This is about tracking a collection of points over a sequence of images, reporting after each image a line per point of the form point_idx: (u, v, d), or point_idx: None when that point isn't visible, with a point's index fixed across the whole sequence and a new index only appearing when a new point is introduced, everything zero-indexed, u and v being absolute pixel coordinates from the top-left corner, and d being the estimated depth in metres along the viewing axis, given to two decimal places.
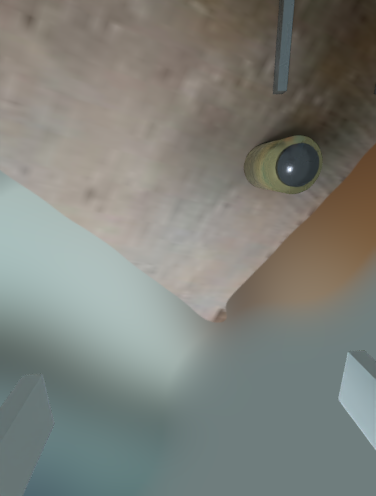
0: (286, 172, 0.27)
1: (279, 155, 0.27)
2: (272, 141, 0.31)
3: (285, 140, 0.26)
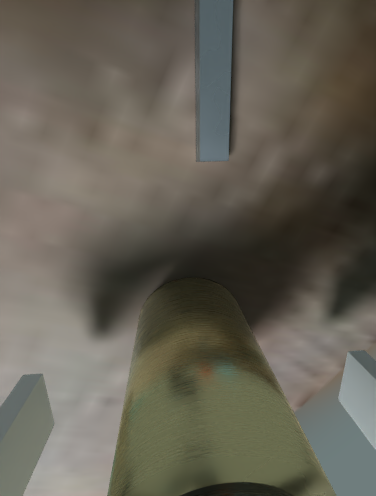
0: None
1: None
2: (179, 324, 0.10)
3: (164, 479, 0.05)
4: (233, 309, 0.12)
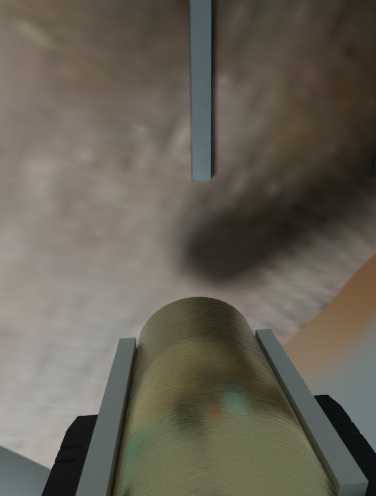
0: None
1: None
2: (184, 361, 0.08)
3: None
4: (247, 337, 0.10)
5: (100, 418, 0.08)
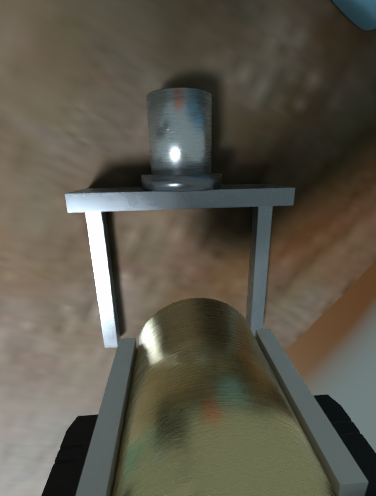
0: None
1: None
2: (185, 362, 0.08)
3: None
4: (247, 338, 0.10)
5: (100, 418, 0.08)
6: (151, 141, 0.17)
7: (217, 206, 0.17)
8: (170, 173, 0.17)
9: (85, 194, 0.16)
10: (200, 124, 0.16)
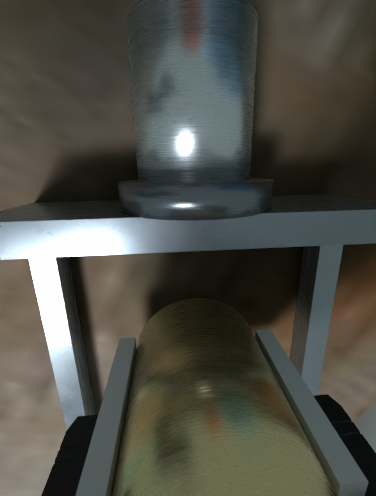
0: None
1: None
2: (185, 363, 0.08)
3: None
4: (247, 338, 0.10)
5: (100, 418, 0.08)
6: (136, 116, 0.09)
7: (268, 245, 0.09)
8: (175, 180, 0.08)
9: None
10: (238, 77, 0.08)
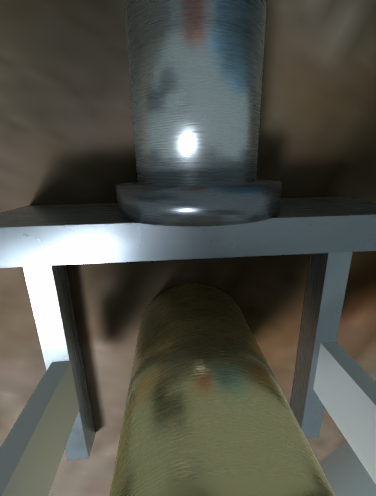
0: None
1: None
2: (180, 332, 0.10)
3: None
4: (236, 316, 0.12)
5: None
6: (135, 113, 0.08)
7: (276, 252, 0.08)
8: (176, 182, 0.08)
9: None
10: (245, 71, 0.07)
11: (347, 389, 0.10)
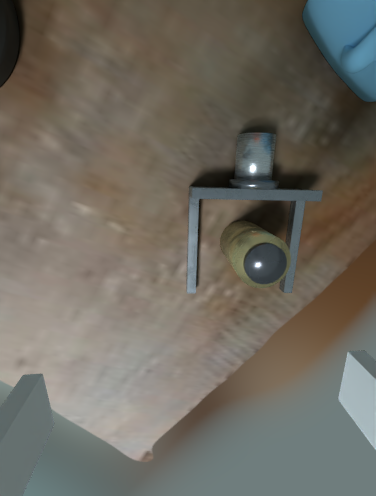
0: (253, 270, 0.26)
1: (246, 253, 0.27)
2: (245, 226, 0.31)
3: (253, 239, 0.26)
4: None
5: None
6: (239, 160, 0.29)
7: (276, 199, 0.29)
8: (251, 179, 0.29)
9: (203, 188, 0.28)
10: (270, 152, 0.28)
11: None
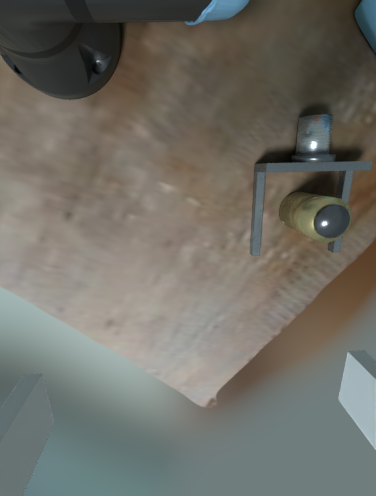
0: (323, 227, 0.33)
1: (316, 213, 0.33)
2: (307, 194, 0.37)
3: (322, 201, 0.33)
4: None
5: None
6: (303, 138, 0.35)
7: (334, 170, 0.35)
8: (313, 154, 0.35)
9: (275, 163, 0.35)
10: (330, 130, 0.34)
11: None
